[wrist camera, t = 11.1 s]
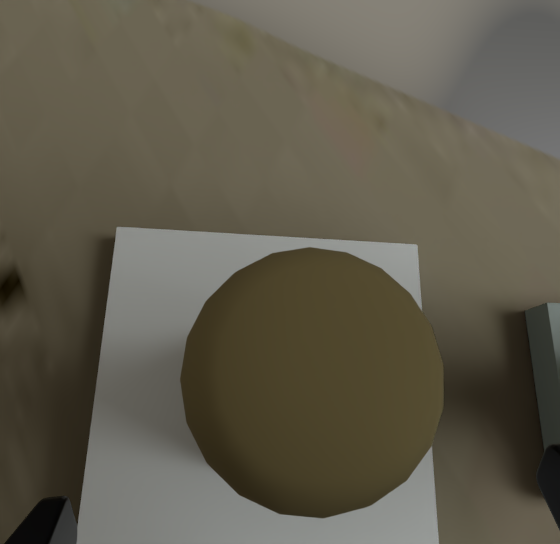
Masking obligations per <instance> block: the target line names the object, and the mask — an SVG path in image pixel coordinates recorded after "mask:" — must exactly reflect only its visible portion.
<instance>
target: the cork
mask: <svg viewBox="0 0 560 544" xmlns="http://www.w3.org/2000/svg"><path fill="white" fill-rule="evenodd" d="M180 383H181V390H182V396H183V403H184V410H185V416H186V423H187V425H188V427H189V429H190V431H191V433H192V435H193V437H194V439H195V441H196V443H197V445H198V447H199V449H200V451H201V453H202V455H203V457H204V459H205V461H206V463H207V464H208V465H209V466H210V467H211V468H212V469H213V470H214V471H215V472H216V473H217V474H218V475H219V476H220V477H221V478H222V479H223V480H224V481H225V482H226V483H227V484H228V485H229V486H230V487H231V488H232V489H233V490H234V491H235V492H236V493H237V494H238V495H240V496H242V497H244V498H246V499H248V500H250V501H253V502H255V503H257V504H259V505H261V506H263V507H265V508H267V509H269V510H272V511H274V512H276V513H278V514H281V515H292V516H302V517H313V518H323V519H324V518H328V517H331V516H335V515H339V514H343V513H347V512H350V511H354V510H358V509H362V508H365V507H368V506H371V505H373V504H374V503H376V502H377V501H378V500H380V499H381V498H383V497H384V496H386V495H387V494H388V493H390V492H391V491H393V490H394V489H396V488H397V487H399V486H400V485H401V484H403V483H404V482H406V481H407V480H408V478H409V477H410V475H411V474H412V473H413V471H414V470H415V469H416V467H417V466H418V464H419V463H420V462H421V460H422V459H423V457H424V456H425V455H426V453H427V452H428V450H429V449H430V448H431V446H432V443H433V439H434V436H435V433H436V430H437V427H438V423H439V420H440V417H441V414H442V411H443V407H444V365H443V362H442V358H441V355H440V352H439V348H438V345H437V342H436V338H435V335H434V332H433V328H432V326H431V325H430V323H429V321H428V320H427V318H426V317H425V315H424V314H423V312H422V311H421V309H420V308H419V306H418V304H417V303H416V301H415V300H414V298H413V297H412V295H411V294H410V293H409V292H408V291H407V290H406V289H405V288H403V287H402V286H401V285H400V284H399V283H398V282H397V281H395V280H394V279H393V278H392V277H391V276H390V275H389V274H387V273H386V272H385V271H384V270H383V269H382V268H380V267H378V266H375V265H373V264H371V263H369V262H367V261H365V260H362V259H360V258H358V257H356V256H354V255H351V254H349V253H347V252H341V251H334V250H327V249H320V248H312V247H307V248H301V249H295V250H289V251H282V252H276V253H272V254H270V255H268V256H266V257H264V258H262V259H260V260H258V261H256V262H254V263H252V264H250V265H248V266H246V267H244V268H242V269H240V270H238V271H237V272H235V273H234V274H232V275H231V276H230V277H229V278H228V279H227V280H226V281H225V282H224V283H223V284H222V285H221V286H220V287H219V288H218V289H217V290H216V291H215V292H214V293H213V294H212V295H211V296H210V297H209V298H208V299H207V300H206V301H205V303H204V305H203V307H202V309H201V311H200V313H199V315H198V317H197V319H196V321H195V323H194V325H193V327H192V329H191V330H190V332H189V334H188V336H187V340H186V346H185V352H184V358H183V364H182V370H181V376H180Z"/></svg>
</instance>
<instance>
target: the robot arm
mask: <svg viewBox="0 0 560 544" xmlns="http://www.w3.org/2000/svg"><path fill="white" fill-rule="evenodd" d="M536 477H537V482H538V485H539V488H540V490H541V492H542V494H543V496H544V498H545V501H546V503H547V505H548V507H549V509H550V511H551V513H552V515H553V517H554V519H555V522H556V524H557V526H558V528H559V530H560V443H557V444H550V445H548V446H547V447H546V449H545V451H544V454H543V457H542V459H541V462H540V464H539V467H538V470H537V474H536ZM76 543H77V524H76V520H75V517H74V513H73V510H72V506H71V503H70V500H69V498H68V497H67V496H57V497H48V498H44V499H42V500H41V501H40V502H39V503H38V504H37V505H36V506H35V507H34V508H33V510H32V511H31V512H30V513H29V514H28V516H27V517H26V518H25V519H24V520H23V522H22V523H21V524H20V525H19V526H18V528H17V529H16V530H15V531H14V532H13V534H12V535H11V536H10V537H9V538H8V540H7V541H6V542H5V543H4V544H76Z"/></svg>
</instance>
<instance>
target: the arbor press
mask: <svg viewBox="0 0 560 544" xmlns="http://www.w3.org/2000/svg"><path fill="white" fill-rule="evenodd" d="M307 247H312V248H320V249H327V250H334V251H341V252H347V253H349V254H351V255H354V256H356V257H358V258H360V259H362V260H365V261H367V262H369V263H371V264H373V265H375V266H378V267H380V268H382V269H383V270H384V271H385V272H386V273H387V274H389V275H390V276H391V277H392V278H393V279H394V280H395V281H397V282H398V283H399V284H400V285H401V286H402V287H403V288H405V289H406V290H407V291H408V292H409V293H410V294H411V295H412V297H413V298H414V300H415V301H416V303H417V304H418V306H419V308H420V309H421V311H422V304H421V290H420V276H419V263H418V249H417V245H415V244H398V243H381V242H365V241H348V240H331V239H314V238H298V237H281V236H264V235H248V234H231V233H214V232H197V231H181V230H164V229H147V228H130V227H117V231H116V239H115V246H114V254H113V261H112V269H111V277H110V284H109V292H108V299H107V307H106V314H105V322H104V329H103V337H102V345H101V352H100V360H99V367H98V375H97V382H96V390H95V398H94V405H93V413H92V420H91V428H90V435H89V443H88V450H87V458H86V466H85V473H84V481H83V488H82V496H81V503H80V511H79V519H78V526H77V543H76V544H439V539H438V525H437V512H436V498H435V484H434V470H433V456H432V446H431V448H430V449H429V450H428V452H427V453H426V455H425V456H424V457H423V459H422V460H421V462H420V463H419V464H418V466H417V467H416V469H415V470H414V471H413V473H412V474H411V475H410V477H409V478H408V480H407V481H406V482H404V483H403V484H401V485H400V486H399V487H397V488H396V489H394V490H393V491H391V492H390V493H388V494H387V495H386V496H384V497H383V498H381V499H380V500H378V501H377V502H376V503H374V504H373V505H371V506H368V507H365V508H362V509H358V510H354V511H350V512H347V513H343V514H339V515H335V516H331V517H328V518H324V519H323V518H313V517H302V516H292V515H281V514H278V513H276V512H274V511H272V510H269V509H267V508H265V507H263V506H261V505H259V504H257V503H255V502H253V501H250V500H248V499H246V498H244V497H242V496H240V495H238V494H237V493H236V492H235V491H234V490H233V489H232V488H231V487H230V486H229V485H228V484H227V483H226V482H225V481H224V480H223V479H222V478H221V477H220V476H219V475H218V474H217V473H216V472H215V471H214V470H213V469H212V468H211V467H210V466H209V465H208V464H207V463H206V461H205V459H204V457H203V455H202V453H201V451H200V449H199V447H198V445H197V443H196V441H195V439H194V437H193V435H192V433H191V431H190V429H189V427H188V425H187V423H186V416H185V410H184V403H183V396H182V390H181V383H180V376H181V370H182V364H183V358H184V352H185V346H186V340H187V336H188V334H189V332H190V330H191V329H192V327H193V325H194V323H195V321H196V319H197V317H198V315H199V313H200V311H201V309H202V307H203V305H204V303H205V301H206V300H207V299H208V298H209V297H210V296H211V295H212V294H213V293H214V292H215V291H216V290H217V289H218V288H219V287H220V286H221V285H222V284H223V283H224V282H225V281H226V280H227V279H228V278H229V277H230V276H231V275H232V274H234V273H235V272H237V271H238V270H240V269H242V268H244V267H246V266H248V265H250V264H252V263H254V262H256V261H258V260H260V259H262V258H264V257H266V256H268V255H270V254H272V253H276V252H282V251H289V250H295V249H301V248H307ZM525 316H526V323H527V330H528V337H529V345H530V352H531V359H532V366H533V373H534V381H535V388H536V395H537V402H538V409H539V417H540V424H541V431H542V438H543V445H544V451H545V449H546V447H547V446H548V445H550V444H557V443H560V303H545V304H542V305H539V306H537V307H534V308H531V309H528V310H526V311H525Z"/></svg>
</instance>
